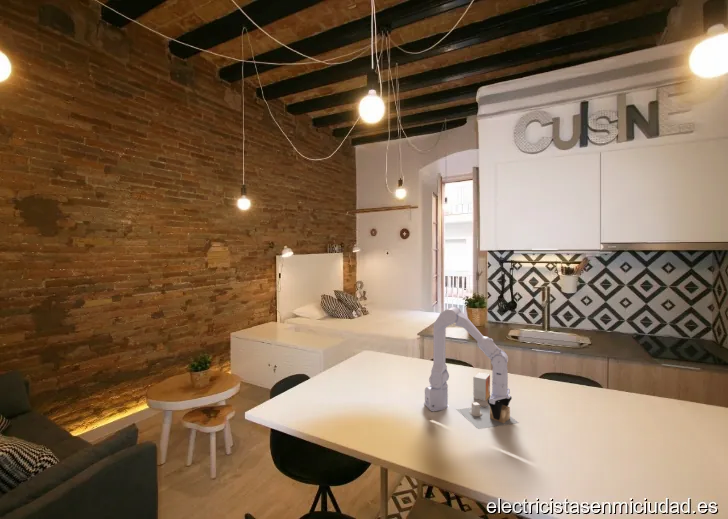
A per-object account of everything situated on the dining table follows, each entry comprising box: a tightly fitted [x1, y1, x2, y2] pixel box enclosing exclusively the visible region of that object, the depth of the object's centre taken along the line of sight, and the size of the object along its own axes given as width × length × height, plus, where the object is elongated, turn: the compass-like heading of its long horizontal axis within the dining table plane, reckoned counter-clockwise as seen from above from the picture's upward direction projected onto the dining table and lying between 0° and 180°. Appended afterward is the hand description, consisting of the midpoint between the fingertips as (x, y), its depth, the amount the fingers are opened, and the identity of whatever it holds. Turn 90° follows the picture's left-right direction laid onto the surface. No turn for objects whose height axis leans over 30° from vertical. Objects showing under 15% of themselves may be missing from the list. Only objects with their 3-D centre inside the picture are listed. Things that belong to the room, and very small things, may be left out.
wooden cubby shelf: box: [490, 405, 511, 423], centre depth 132 cm, size 6×6×5 cm
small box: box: [472, 371, 491, 402], centre depth 152 cm, size 8×6×10 cm
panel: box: [456, 401, 520, 430], centre depth 134 cm, size 18×16×5 cm
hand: (499, 416), depth 132 cm, fingers closed on wooden cubby shelf, 6 cm apart
